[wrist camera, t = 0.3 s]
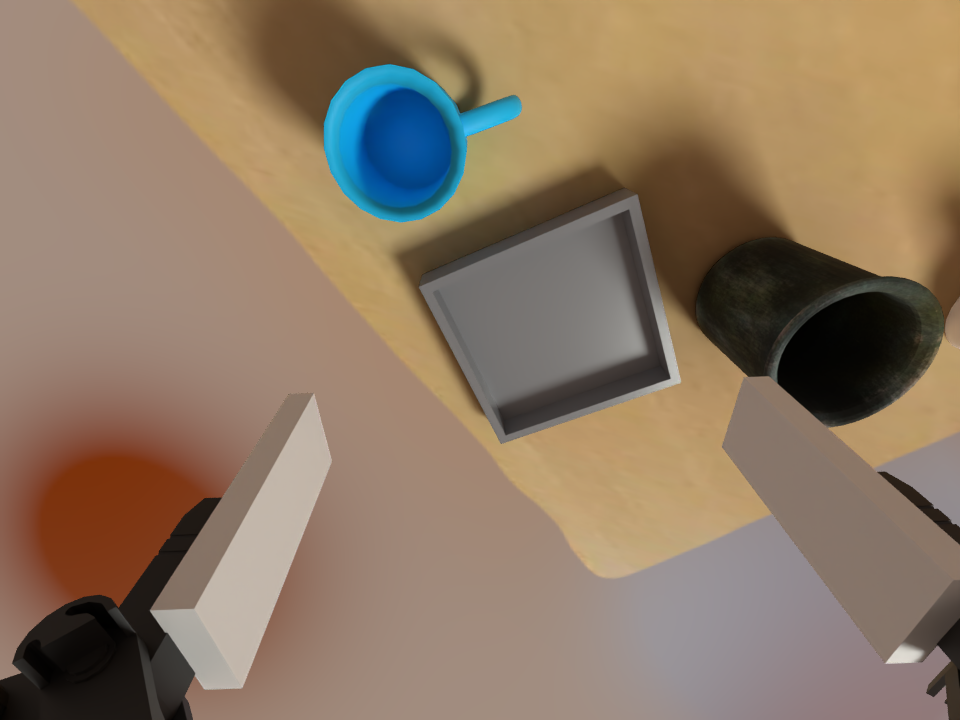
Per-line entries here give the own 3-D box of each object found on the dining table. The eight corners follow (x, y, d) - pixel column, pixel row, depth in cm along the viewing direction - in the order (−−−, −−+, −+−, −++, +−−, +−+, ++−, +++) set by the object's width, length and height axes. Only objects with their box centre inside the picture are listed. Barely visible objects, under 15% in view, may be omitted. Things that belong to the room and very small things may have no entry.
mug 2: (809, 206, 35) (953, 247, 25) (820, 351, 42) (937, 430, 31) (675, 262, 37) (755, 322, 27) (706, 391, 44) (780, 479, 33)
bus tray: (422, 274, 37) (418, 286, 35) (624, 187, 34) (637, 194, 31) (499, 424, 45) (501, 444, 43) (668, 365, 42) (681, 382, 40)
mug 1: (382, 213, 35) (360, 239, 28) (336, 98, 31) (296, 94, 24) (529, 163, 33) (545, 178, 26) (499, 36, 29) (509, 12, 22)
